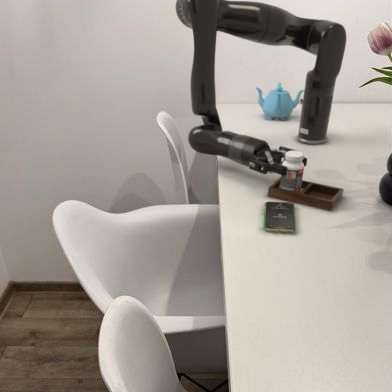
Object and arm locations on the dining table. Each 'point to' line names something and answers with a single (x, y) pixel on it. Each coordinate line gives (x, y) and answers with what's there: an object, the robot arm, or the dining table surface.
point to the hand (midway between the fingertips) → (296, 167)
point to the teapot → (278, 103)
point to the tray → (309, 195)
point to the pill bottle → (293, 172)
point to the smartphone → (279, 217)
